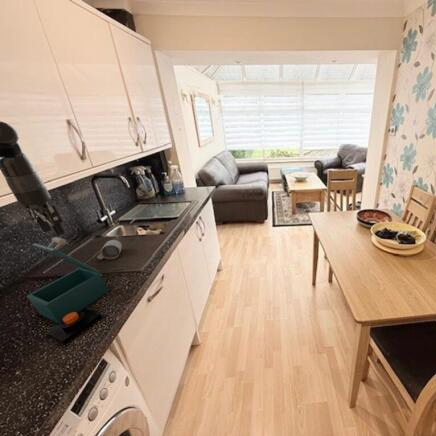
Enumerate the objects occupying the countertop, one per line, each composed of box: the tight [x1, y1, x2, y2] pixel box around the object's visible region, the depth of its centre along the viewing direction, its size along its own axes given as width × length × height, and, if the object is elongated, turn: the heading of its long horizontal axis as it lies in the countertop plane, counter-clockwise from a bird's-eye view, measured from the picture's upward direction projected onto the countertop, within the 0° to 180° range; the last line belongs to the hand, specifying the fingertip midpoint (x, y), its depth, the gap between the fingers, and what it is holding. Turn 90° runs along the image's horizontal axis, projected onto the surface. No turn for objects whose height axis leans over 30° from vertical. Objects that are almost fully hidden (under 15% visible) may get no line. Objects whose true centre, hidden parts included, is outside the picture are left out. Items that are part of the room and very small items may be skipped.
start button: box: [63, 312, 79, 324], centre depth 78 cm, size 4×4×2 cm
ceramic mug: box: [97, 239, 123, 261], centre depth 118 cm, size 11×8×8 cm
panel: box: [46, 307, 102, 345], centre depth 79 cm, size 11×9×4 cm
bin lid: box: [32, 236, 101, 274], centre depth 88 cm, size 18×13×5 cm
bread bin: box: [26, 267, 110, 324], centre depth 89 cm, size 17×13×9 cm
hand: (54, 232), depth 83 cm, fingers open, 8 cm apart
